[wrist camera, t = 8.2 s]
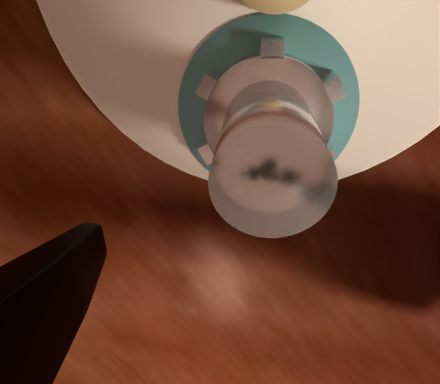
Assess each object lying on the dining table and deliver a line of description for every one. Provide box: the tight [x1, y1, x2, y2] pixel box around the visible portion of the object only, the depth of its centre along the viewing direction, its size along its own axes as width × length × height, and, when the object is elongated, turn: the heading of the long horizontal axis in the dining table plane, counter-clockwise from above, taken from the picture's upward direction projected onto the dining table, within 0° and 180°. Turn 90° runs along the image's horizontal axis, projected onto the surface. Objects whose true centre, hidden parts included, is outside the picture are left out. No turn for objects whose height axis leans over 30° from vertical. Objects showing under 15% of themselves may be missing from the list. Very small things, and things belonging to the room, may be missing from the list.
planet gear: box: [195, 37, 347, 238], centre depth 14 cm, size 7×7×8 cm
